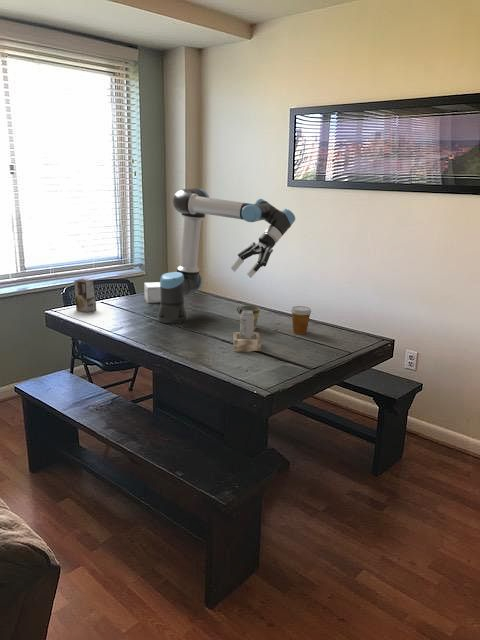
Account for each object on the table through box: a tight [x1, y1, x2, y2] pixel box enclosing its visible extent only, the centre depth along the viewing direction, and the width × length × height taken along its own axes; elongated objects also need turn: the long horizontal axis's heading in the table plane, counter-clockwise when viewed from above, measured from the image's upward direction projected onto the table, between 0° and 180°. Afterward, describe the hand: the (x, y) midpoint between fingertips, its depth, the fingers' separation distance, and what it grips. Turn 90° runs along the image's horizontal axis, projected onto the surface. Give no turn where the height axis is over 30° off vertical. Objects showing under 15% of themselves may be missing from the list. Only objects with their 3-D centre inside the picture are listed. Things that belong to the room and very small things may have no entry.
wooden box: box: [232, 331, 261, 352], centre depth 229 cm, size 11×11×5 cm
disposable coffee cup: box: [290, 305, 312, 335], centre depth 251 cm, size 10×10×12 cm
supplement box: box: [143, 281, 161, 304], centre depth 306 cm, size 17×13×9 cm
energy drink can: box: [239, 310, 255, 339], centre depth 227 cm, size 6×6×15 cm
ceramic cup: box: [236, 305, 260, 330], centre depth 257 cm, size 13×10×10 cm
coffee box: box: [73, 278, 97, 313], centre depth 279 cm, size 9×6×16 cm
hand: (240, 272), depth 238 cm, fingers open, 13 cm apart
